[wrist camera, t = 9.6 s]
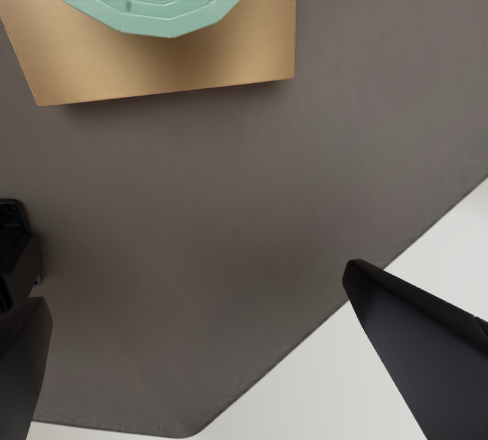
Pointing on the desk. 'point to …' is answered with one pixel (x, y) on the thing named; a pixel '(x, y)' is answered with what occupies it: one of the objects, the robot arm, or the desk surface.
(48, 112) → the desk surface
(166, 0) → the bowl
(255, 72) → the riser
